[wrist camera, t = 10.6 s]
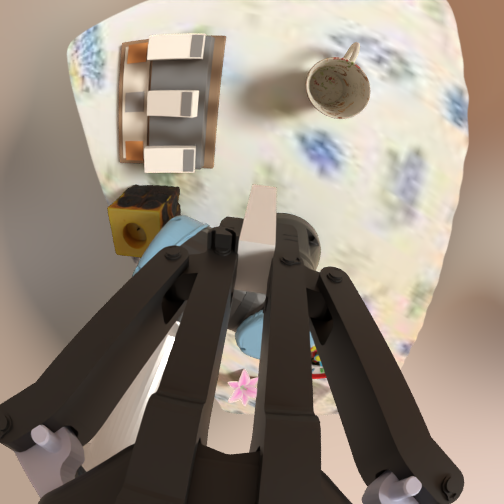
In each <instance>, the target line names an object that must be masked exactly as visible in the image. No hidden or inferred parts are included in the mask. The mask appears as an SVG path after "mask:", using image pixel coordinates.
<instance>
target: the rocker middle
mask: <svg viewBox="0 0 504 504" xmlns="http://www.w3.org/2000/svg"><path fill="white" fill-rule="evenodd" d="M198 98H199V91H198V90H153V91H148V96H147V116H172V117H189V118H193V117H197V111H198Z"/></svg>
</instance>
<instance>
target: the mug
mask: <svg viewBox="0 0 504 504" xmlns="http://www.w3.org/2000/svg"><path fill="white" fill-rule="evenodd" d="M359 50H360V44H359V43H357V42H355V43H353V44H352V45H351V46H350V48H349V49H348V51H347V53H346V54H345V56H344V57H343V58H339V57H331V58H326V59H323V60H321V61H319V62H318V63H316V64H315V65H314V66H313V67H312V68H311V70H310V71H309V73H308V75H307V78H306V92H307V95H308V98H309V100H310V102H311V103H312V104H313V106H314V107H315V108H316V109H317V110H318V111H320V112H321V113H323V114H324V115H326V116H329V117H332V118H337V119H346V118H350V117H353V116H355V115H357V114H359V113H360V112H361V111H362V110H363V109H364V108H365V107H366V105H367V103H368V101H369V98H370V84H369V81H368V78H367V76H366V74H365V73H364V72H363V70H362V69H361V68H360V67H359V66H358V65H356V64H355V63H354V62H355V60H356V58H357V56H358V54H359ZM352 52H353V53H352ZM351 54H352V55H351ZM350 56H351V57H350ZM349 58H350V59H349Z"/></svg>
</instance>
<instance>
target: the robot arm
mask: <svg viewBox="0 0 504 504" xmlns="http://www.w3.org/2000/svg"><path fill="white" fill-rule="evenodd" d="M276 204H277V187H270V186H263V185H256V184H253V185H252V189H251V193H250V197H249V201H248V205H247V209H246V213H245V217H244V219H242V218H234V217H226V218H224V219H223V220H222V221H221V223H220V226H219V227H214V228H211V227H209V226H210V225H208V224H203V223H201V222H199V221H197V220H194V219H192V218H190V217H188V216H185V215H179V216H176V217H174V218H172V219H171V220H169V221H168V222H167V223H166V224H165V225H164V227H163V228H162V229H161V230H160V231H159V232H158V234H157V235H156V236H155V238H154V239H153V240H152V242H151V243H150V245H149V246H148V248H147V249H146V251H145V252H144V254H143V255H142V257H141V259H140V261H139V263H138V265H137V267H136V269H135V271H134V272H133V275H132V278H131V279H130V280H129V281H128V282H127V283H126V284H125V285H124V286H123V287H122V288H121V289H120V290H119V291H118V292H117V293H116V294H115V295H114V296H113V297H112V298H111V299H110V300H109V301H108V302H107V303H106V304H105V305H104V306H103V307H102V308H101V309H100V310H99V311H98V312H97V313H96V314H95V315H94V317H93V318H92V319H91V320H90V321H89V322H88V323H87V324H86V325H85V326H84V327H83V328H82V330H80V332H79V333H78V334H77V335H76V336H75V337H74V338H73V339H72V341H71V342H70V343H69V344H68V345H67V346H66V347H65V348H64V349H63V351H62V352H61V353H60V354H59V355H58V356H57V358H56V359H55V360H54V361H53V362H52V363H51V365H50V366H49V367H48V368H47V369H46V370H45V372H44V373H43V374H42V375H41V376H40V378H39V379H38V380H37V381H36V383H34V384H32V385H31V386H29V387H27V388H26V389H24V390H23V391H21V392H20V393H18V394H17V395H15V396H13V397H11V398H10V399H8V400H7V401H5V402H4V403H2V404H0V443H2V444H3V445H5V446H6V447H8V448H10V449H12V450H13V451H14V452H15V454H16V456H17V458H18V460H19V462H20V464H21V466H22V467H23V469H24V471H25V473H26V474H27V476H28V478H29V480H30V482H31V483H32V485H33V487H34V488H35V490H36V492H37V493H38V495H39V496H40V498H41V499H40V501H39V502H38V504H352V503H351V502H350V501H349V500H348V499H347V497H346V496H345V495H344V494H343V493H342V492H341V491H340V490H339V489H338V487H337V486H336V485H335V484H334V483H333V482H332V481H331V479H330V478H329V477H328V476H327V475H326V474H325V473H324V472H323V471H322V470H321V428H320V421H319V418H318V417H317V416H316V415H315V414H314V411H313V386H312V363H311V347H312V346H313V345H314V344H315V347H316V349H317V352H318V355H319V358H320V360H321V363H322V366H323V369H324V372H325V375H326V377H327V380H328V383H329V386H330V389H331V392H332V395H333V398H334V400H335V403H336V406H337V409H338V412H339V415H340V418H341V421H342V424H343V427H344V430H345V433H346V436H347V439H348V442H349V445H350V448H351V452H352V455H353V458H354V461H355V463H356V466H357V468H358V471H359V473H360V475H361V477H362V479H363V481H364V482H365V484H366V485H367V486H368V487H367V489H366V490H365V493H364V495H363V497H362V503H363V504H451V503H453V502H454V501H455V500H457V499H458V497H459V496H460V494H461V492H462V491H463V487H464V477H463V475H462V473H461V471H460V470H459V469H458V467H457V466H456V465H455V464H454V463H453V462H452V461H451V459H450V458H449V457H448V456H447V455H446V454H445V452H444V451H443V450H442V449H441V448H440V447H439V446H438V444H437V443H436V442H435V441H434V440H433V439H432V438H431V436H430V433H429V431H428V429H427V426H426V424H425V422H424V419H423V417H422V415H421V413H420V410H419V408H418V406H417V404H416V402H415V399H414V397H413V395H412V393H411V391H410V389H409V387H408V385H407V383H406V381H405V379H404V376H403V374H402V372H401V370H400V368H399V366H398V364H397V362H396V360H395V358H394V357H393V355H392V353H391V351H390V349H389V347H388V345H387V343H386V341H385V339H384V338H383V336H382V334H381V332H380V330H379V328H378V327H377V325H376V323H375V321H374V319H373V317H372V316H371V314H370V312H369V310H368V309H367V307H366V305H365V303H364V302H363V300H362V298H361V296H360V295H359V293H358V291H357V290H356V288H355V286H354V285H353V283H352V281H351V280H350V278H349V276H348V275H347V274H346V273H345V272H344V271H342V270H341V269H339V268H336V267H325V268H323V269H322V270H321V272H317V271H316V269H317V266H318V263H319V260H320V255H321V247H320V242H319V238H318V235H317V233H316V231H315V230H314V228H313V227H312V226H311V225H310V224H309V223H308V222H307V221H305V220H304V219H302V218H300V217H298V216H295V215H291V214H285V213H278V214H276ZM227 329H229V330H232V331H234V332H236V333H235V339H236V342H237V345H238V346H239V347H240V349H241V351H242V352H243V353H245V354H246V355H248V356H250V357H253V358H256V359H260V363H259V374H258V384H257V395H256V405H255V415H254V425H253V434H252V441H251V446H250V451H249V453H242V454H231V455H230V454H224V453H222V452H219V451H217V450H214V449H212V448H210V447H207V446H206V445H207V436H208V429H209V423H210V417H211V412H212V407H213V401H214V396H215V390H216V385H217V380H218V374H219V369H220V364H221V358H222V353H223V348H224V343H225V337H226V332H227ZM92 438H93V439H92ZM91 439H92V442H91V443H88V442H89V441H90V440H91Z"/></svg>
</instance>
